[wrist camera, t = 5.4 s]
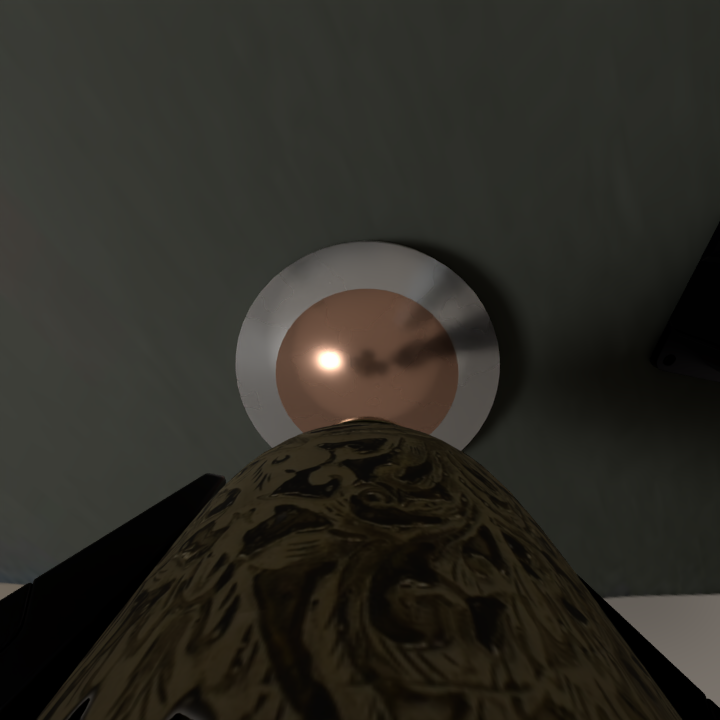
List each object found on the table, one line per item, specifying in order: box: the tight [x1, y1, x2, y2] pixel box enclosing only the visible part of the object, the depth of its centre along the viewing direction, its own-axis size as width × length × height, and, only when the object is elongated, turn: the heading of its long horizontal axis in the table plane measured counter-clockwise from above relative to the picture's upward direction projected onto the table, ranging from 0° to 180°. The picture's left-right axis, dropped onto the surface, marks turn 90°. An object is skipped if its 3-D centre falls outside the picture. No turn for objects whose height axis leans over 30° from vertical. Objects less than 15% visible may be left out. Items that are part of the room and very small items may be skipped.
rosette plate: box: [236, 240, 500, 451], centre depth 16 cm, size 11×11×1 cm
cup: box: [36, 416, 682, 720], centre depth 6 cm, size 8×7×8 cm
